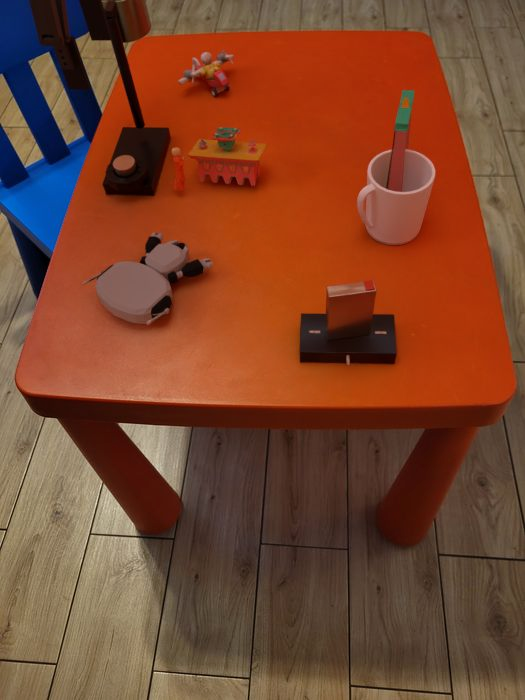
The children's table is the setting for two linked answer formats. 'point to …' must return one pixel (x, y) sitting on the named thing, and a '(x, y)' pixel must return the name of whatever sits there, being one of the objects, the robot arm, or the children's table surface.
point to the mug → (396, 198)
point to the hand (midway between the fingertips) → (91, 62)
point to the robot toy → (146, 280)
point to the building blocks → (244, 157)
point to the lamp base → (139, 160)
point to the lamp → (127, 26)
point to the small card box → (349, 309)
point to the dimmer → (348, 342)
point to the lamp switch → (125, 166)
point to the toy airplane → (209, 71)
